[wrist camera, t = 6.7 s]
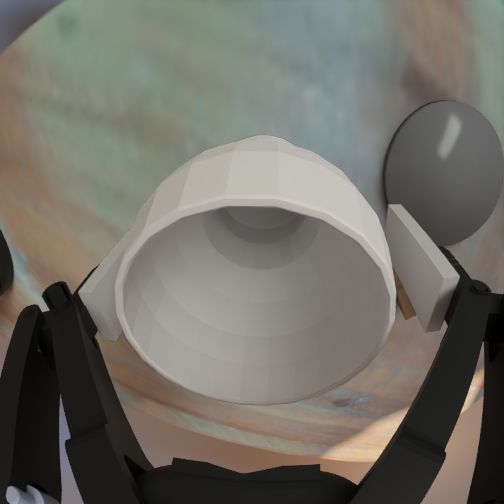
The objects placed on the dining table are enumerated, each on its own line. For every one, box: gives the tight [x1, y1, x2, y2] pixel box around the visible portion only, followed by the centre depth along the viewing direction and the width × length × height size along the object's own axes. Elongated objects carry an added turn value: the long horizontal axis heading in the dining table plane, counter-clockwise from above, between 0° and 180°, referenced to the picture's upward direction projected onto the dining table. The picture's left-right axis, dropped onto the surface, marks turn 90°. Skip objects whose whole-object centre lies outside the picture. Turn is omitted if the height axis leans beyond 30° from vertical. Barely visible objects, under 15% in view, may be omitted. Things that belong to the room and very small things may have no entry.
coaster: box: [384, 100, 504, 246], centre depth 20 cm, size 13×13×1 cm
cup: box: [114, 135, 396, 406], centre depth 16 cm, size 11×11×15 cm
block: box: [392, 266, 417, 320], centre depth 24 cm, size 4×4×4 cm
